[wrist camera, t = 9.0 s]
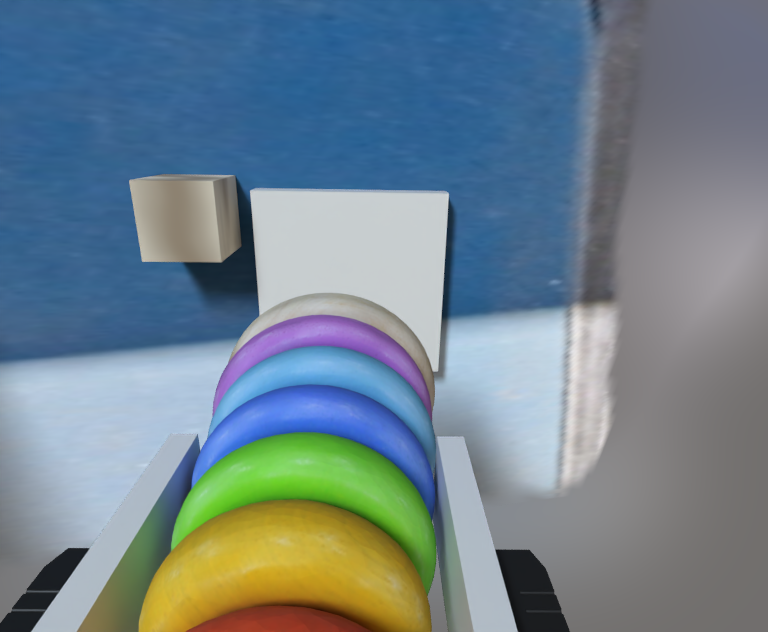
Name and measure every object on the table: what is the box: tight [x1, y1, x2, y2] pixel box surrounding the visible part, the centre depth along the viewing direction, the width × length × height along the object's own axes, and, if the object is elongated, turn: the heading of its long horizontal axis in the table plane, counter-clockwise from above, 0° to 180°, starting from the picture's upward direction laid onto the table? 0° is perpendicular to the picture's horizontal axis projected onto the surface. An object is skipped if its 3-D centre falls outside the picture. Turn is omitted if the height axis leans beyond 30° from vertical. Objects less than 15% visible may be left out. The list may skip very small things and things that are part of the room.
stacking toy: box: [139, 293, 436, 632], centre depth 11 cm, size 8×8×19 cm
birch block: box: [129, 174, 242, 262], centre depth 29 cm, size 4×4×4 cm
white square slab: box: [250, 188, 449, 372], centre depth 32 cm, size 12×12×2 cm
